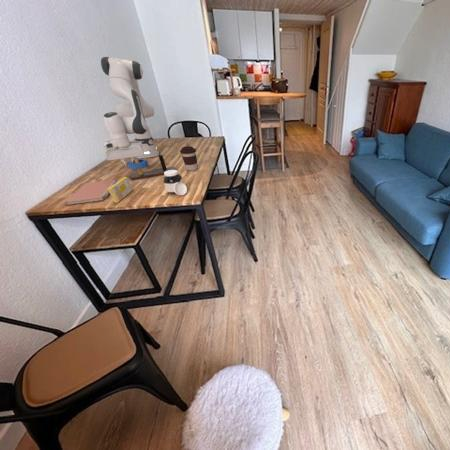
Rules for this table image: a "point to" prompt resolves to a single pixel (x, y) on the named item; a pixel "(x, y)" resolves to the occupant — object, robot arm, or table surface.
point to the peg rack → (150, 173)
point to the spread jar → (174, 183)
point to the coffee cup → (189, 157)
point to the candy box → (120, 189)
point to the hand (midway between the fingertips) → (129, 165)
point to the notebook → (91, 192)
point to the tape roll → (138, 164)
